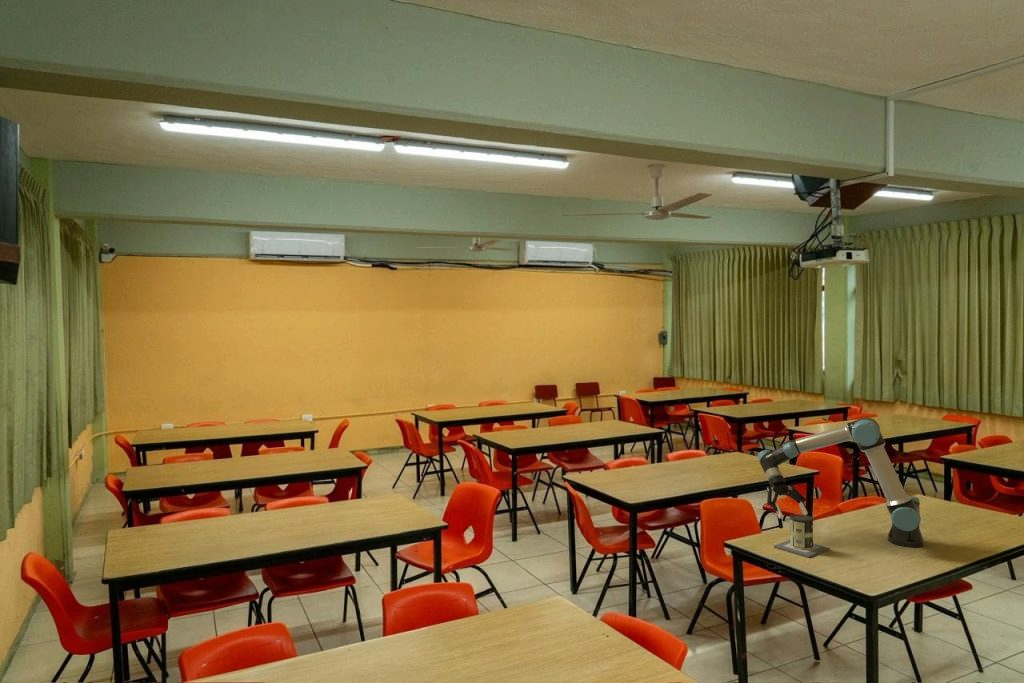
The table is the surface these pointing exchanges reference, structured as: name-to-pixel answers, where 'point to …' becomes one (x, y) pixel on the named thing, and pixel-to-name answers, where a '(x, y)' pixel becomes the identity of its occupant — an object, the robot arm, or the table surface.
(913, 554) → the table surface
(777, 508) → the robot arm
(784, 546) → the mat
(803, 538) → the coffee can
